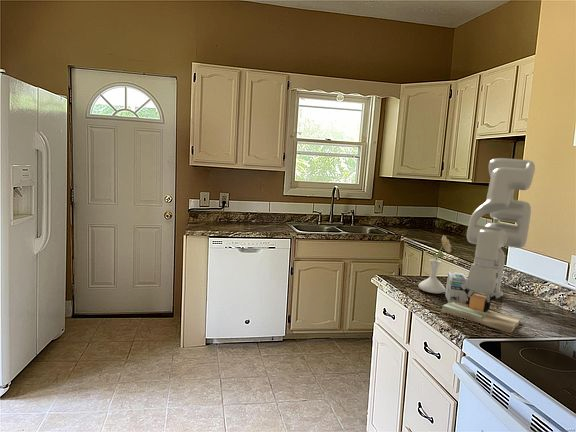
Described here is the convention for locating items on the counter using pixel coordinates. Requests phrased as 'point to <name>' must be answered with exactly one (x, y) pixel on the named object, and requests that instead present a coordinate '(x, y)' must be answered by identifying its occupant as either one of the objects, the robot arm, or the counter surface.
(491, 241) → the robot arm
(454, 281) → the light bulb box
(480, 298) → the stub
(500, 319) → the board
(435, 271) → the flower in vase
